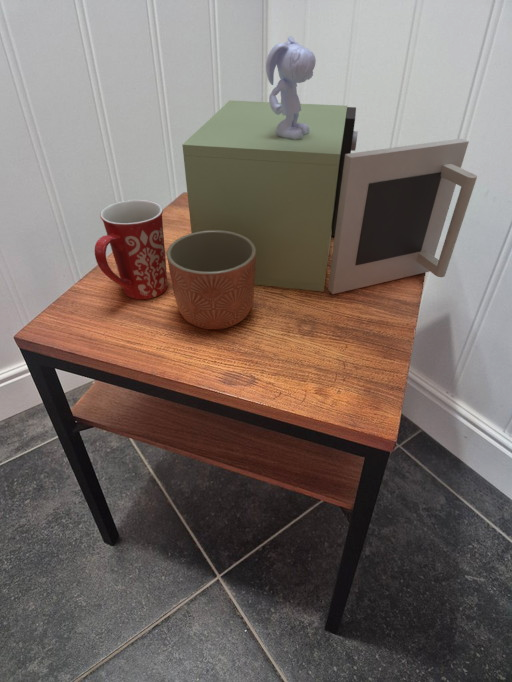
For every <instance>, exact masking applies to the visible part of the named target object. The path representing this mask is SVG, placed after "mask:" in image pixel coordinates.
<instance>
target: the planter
mask: <svg viewBox="0 0 512 682" xmlns="http://www.w3.org/2000/svg"><path fill="white" fill-rule="evenodd" d="M166 260H167V264H168V269H169V270H168V271H169V275H170V279H171V280H170V281H171V285H172V291H173V294H174V299H175V303H176V306H177V308H178V309H177V310H178V311H179V313H180V315H181V316H182V318H183V319H184V320H185V321H187V322H188V323H189V324H191V325H193V326H195V327H198V328H199V329H205V330H222V329H223V330H224V329H227V328H231V327H233V326H235V325H238V324H239V323H241V322H242V321H243V320H244V319H245V318H246V317H247V316H248V315H249V314H250V311H251V309H252V306H253V302H254V296H255V286H256V285H255V262H256V248H255V246H254V244H253V243H252V242H251V241H250V240H249V239H248V238H246V237H245V236H242V235H240V234H237V233H234V232H229V231H221V230H208V231H200V232H195V233H188V234H185V235H183V236H181V237H178V238H177V239H176V240H174V241H173V242H172V243H171V244H170V245H169V247H167V251H166Z"/></svg>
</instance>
